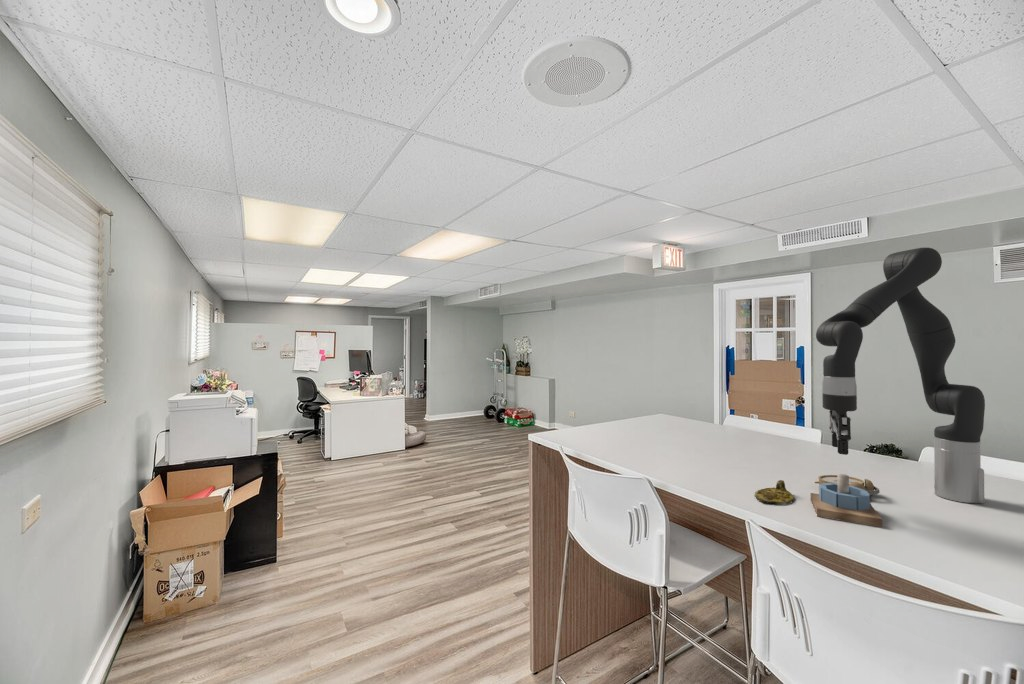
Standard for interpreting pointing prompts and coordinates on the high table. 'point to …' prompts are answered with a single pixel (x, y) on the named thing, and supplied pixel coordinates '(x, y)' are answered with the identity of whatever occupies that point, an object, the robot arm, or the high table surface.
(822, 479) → the alarm clock
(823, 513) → the wooden peg stand
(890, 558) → the high table surface
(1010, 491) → the high table surface
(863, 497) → the rubber loop
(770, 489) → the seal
